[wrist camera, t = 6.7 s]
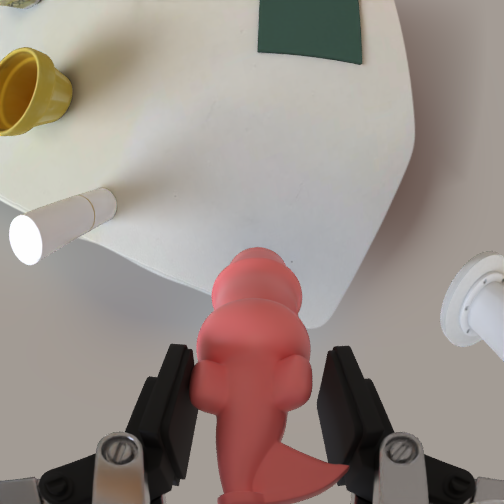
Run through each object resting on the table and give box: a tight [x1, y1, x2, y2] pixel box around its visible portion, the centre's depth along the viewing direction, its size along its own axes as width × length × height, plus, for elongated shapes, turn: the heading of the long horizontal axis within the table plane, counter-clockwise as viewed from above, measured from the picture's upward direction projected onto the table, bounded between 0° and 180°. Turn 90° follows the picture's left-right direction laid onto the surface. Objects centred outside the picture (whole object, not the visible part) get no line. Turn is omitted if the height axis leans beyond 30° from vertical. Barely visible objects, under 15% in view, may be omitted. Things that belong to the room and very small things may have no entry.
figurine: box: [189, 247, 350, 504], centre depth 12 cm, size 5×5×15 cm
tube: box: [9, 188, 117, 265], centre depth 26 cm, size 4×4×15 cm
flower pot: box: [0, 47, 73, 136], centre depth 23 cm, size 10×10×10 cm
